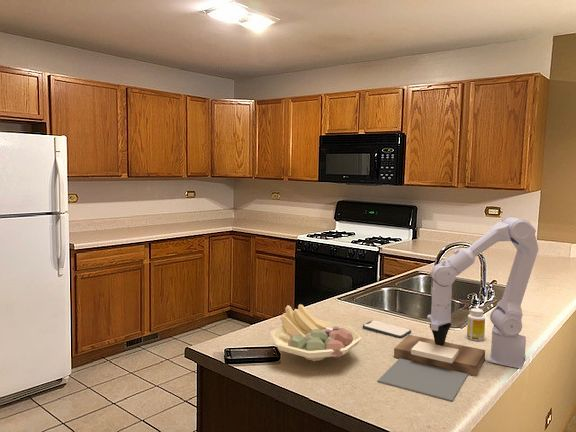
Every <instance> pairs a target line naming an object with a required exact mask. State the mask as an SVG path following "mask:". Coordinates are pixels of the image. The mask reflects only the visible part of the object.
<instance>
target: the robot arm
mask: <svg viewBox="0 0 576 432" xmlns="http://www.w3.org/2000/svg"><path fill="white" fill-rule="evenodd" d="M536 232H537V229H536V228H535V227H534V225H532V223H531V222H530V221H528V220H527V219H521V218H518V217H516V216H512V215H510V216H506V217H504V218H502V220H501V221H498V222H496V223H495V224H494V225H493V226H492V227H491V228H490V229H489V230H487V231H486V232H485V233H484V234H483V235H481V236H480V237H479V238H478V239H476V241H474V242H473V243H472V244H471V245H470V246H469V247H467V248H463V247H461V248H459V249H458V248H456V249H455V250H453V252H454V253H453V254H451V255H450V256H448V258H446V259H443V260H441V263H437V264H435V265H434V266H433V267H432V270H431V271H430V276H431V278H432V288H431V312H430V314H428V315H427V317H426V318H427V319H430V323H429V328H430V330H431V333H432V335H433V340H435V345H440V346H444V344H445V342H446V339H447V337H448V336H447V335H448V332H449V331H450V329H451V327H452V323H451V322H452V297H453V296H452V294H453V293H452V292H453V291H452V289H453V288H452V285H453V283H455V280H456V277H457V276H459V275H460V274H461V273H463V272H464V271H465V270H467V269H468V268H470V266H472V265H474V264H475V259H476V257H477V256H479V255H481V254H482V253H483V252H485V251H486V250H488V249H489V248H490V247H492V246H493V245H495V244H497V243H498V242H511V243H512V244H513V247H514V248H516V253H515V256H514V260H513V262H512V266H511V269H510V272H509V275H508V278H507V282H506V285H505V289H504V292H503V294H502V298H501V299H500V300H498V301H497V303H496V306H495V307H494V308H493V309H492V311H491V312H490V315H489V319H490V322H491V324H492V325H493V327H492V329H491V342H490V343H491V344H490V348H491V349H490V354H489V357H488V358H487V362H488V363H490V364H491V363H492V364H496V365H501V366H505V367H506V366H507V367H509V368H510V367H511V368H515V369H519V370H521V369H523V368H524V363H525V361H526V344H527V343H526V342H527V337H526V336H525V335H522V334H520V332H521V331H522V329H523V323H522V319H523V315H524V314H523V310H522V309H523V308H522V303H523V299H524V296H525V293H526V289H527V286H528V283H529V280H530V277H531V274H532V271H533V268H534V265H535V262H536V259H537V255H538V252H539V245H538V241H537V237H536Z"/></svg>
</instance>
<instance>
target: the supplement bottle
mask: <svg viewBox="0 0 576 432" xmlns="http://www.w3.org/2000/svg"><path fill="white" fill-rule="evenodd" d="M466 328H467V330H466V337H467V339H469V340H470V341H473V342H474V341H475V342H482V341H484V339H485V330H486V317H485V315H484V311H483V309H481V308H477V307H475V308H471V309H470V312H469V314H468V315H467V327H466Z"/></svg>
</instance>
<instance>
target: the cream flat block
mask: <svg viewBox="0 0 576 432" xmlns="http://www.w3.org/2000/svg"><path fill="white" fill-rule="evenodd" d="M411 354H412V355H417V356H421V357H426V358H430V359H435V360H439V361H443V362H448V363H453V361H454V360H455V358H456V357H457V356H458V354H459V349H455V348H450V347H445V346H440V345H435V344H431V343H426V342H421V341H419V342H418V343H417V344H416V345H415V346H414V347H413V348H412V349H411Z"/></svg>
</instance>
